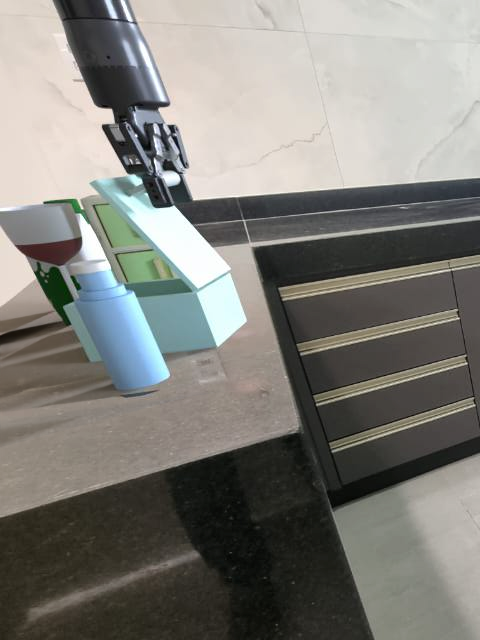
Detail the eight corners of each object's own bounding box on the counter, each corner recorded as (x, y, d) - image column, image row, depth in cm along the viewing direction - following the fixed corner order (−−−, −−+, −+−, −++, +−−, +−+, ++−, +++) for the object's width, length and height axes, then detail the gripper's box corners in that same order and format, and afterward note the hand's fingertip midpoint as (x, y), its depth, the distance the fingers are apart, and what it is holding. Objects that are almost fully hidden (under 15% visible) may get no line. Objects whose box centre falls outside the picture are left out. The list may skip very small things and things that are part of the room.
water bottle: (109, 400, 64) (44, 270, 57) (133, 382, 68) (75, 259, 62) (160, 393, 65) (102, 265, 58) (180, 375, 69) (128, 255, 63)
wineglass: (43, 344, 82) (-27, 212, 74) (84, 325, 90) (25, 204, 82) (102, 338, 84) (40, 209, 75) (138, 321, 91) (85, 201, 83)
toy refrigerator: (136, 331, 86) (77, 198, 78) (145, 319, 92) (91, 194, 84) (197, 321, 90) (146, 193, 82) (202, 310, 96) (155, 190, 87)
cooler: (93, 368, 73) (62, 306, 69) (139, 338, 83) (115, 283, 79) (219, 352, 76) (196, 293, 73) (249, 326, 87) (230, 272, 83)
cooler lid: (88, 183, 65) (131, 162, 65) (140, 176, 76) (176, 157, 76) (192, 291, 73) (230, 271, 73) (226, 271, 83) (259, 254, 84)
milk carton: (131, 317, 93) (78, 200, 85) (59, 330, 88) (-5, 207, 80) (130, 307, 99) (80, 196, 91) (62, 319, 94) (3, 203, 86)
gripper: (122, 58, 61) (182, 209, 68) (179, 70, 73) (225, 197, 80) (41, 60, 59) (112, 215, 66) (115, 72, 71) (168, 201, 79)
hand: (174, 204), depth 73 cm, fingers closed on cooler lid, 5 cm apart
